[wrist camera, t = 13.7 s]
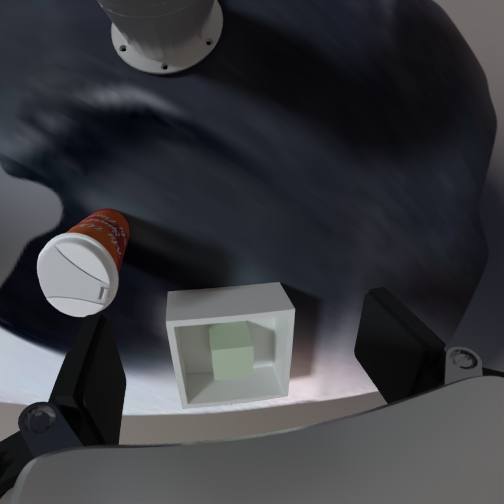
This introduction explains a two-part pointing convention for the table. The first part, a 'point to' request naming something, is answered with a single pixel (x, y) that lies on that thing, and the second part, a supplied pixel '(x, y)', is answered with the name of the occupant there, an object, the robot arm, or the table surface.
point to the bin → (221, 311)
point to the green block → (231, 350)
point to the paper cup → (84, 264)
